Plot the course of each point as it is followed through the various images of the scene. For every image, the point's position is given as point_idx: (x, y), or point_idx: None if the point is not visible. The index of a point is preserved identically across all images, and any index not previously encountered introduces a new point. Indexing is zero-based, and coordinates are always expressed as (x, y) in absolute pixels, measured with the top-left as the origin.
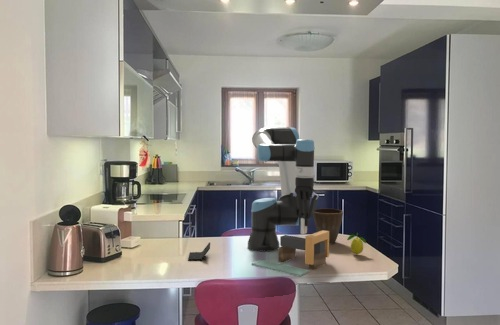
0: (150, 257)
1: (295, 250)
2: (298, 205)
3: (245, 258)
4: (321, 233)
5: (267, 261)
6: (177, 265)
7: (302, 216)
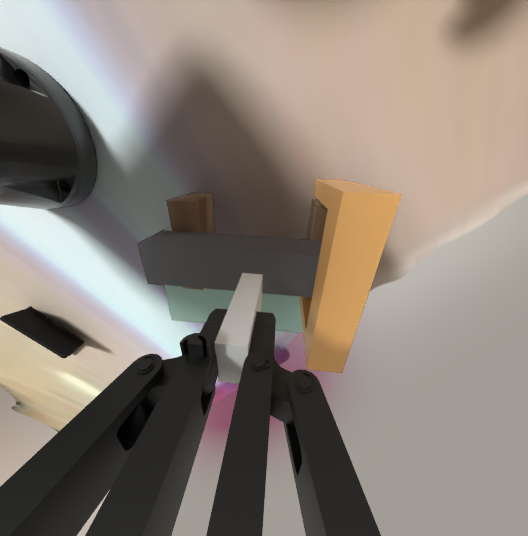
0: (17, 366)
1: (202, 199)
2: (52, 496)
3: (121, 286)
4: (361, 288)
5: (186, 291)
6: (90, 375)
7: (213, 375)
